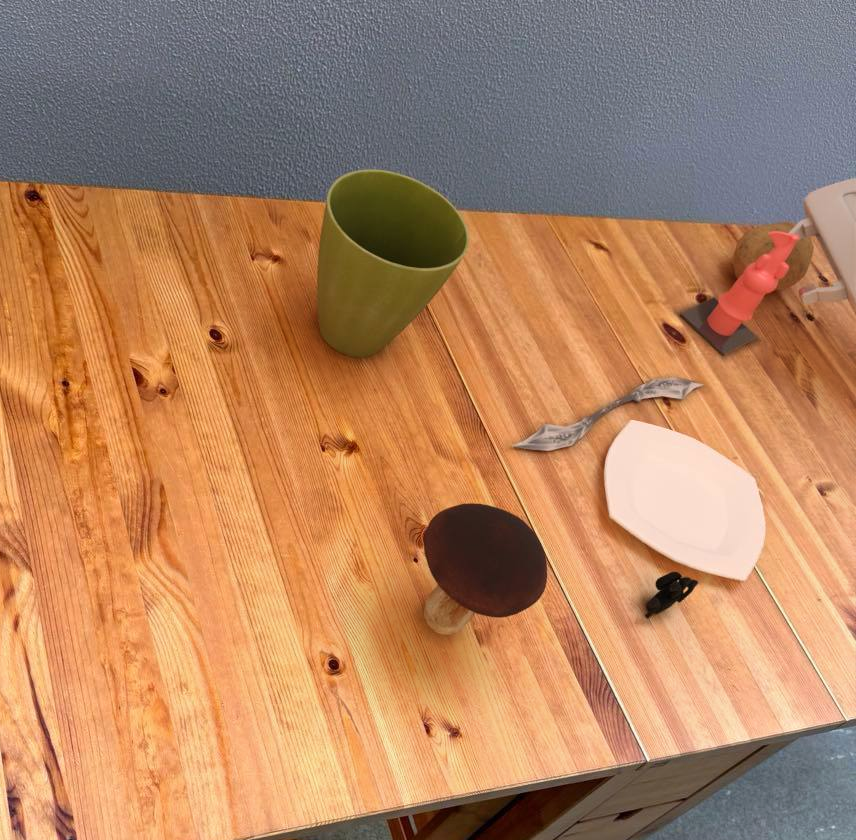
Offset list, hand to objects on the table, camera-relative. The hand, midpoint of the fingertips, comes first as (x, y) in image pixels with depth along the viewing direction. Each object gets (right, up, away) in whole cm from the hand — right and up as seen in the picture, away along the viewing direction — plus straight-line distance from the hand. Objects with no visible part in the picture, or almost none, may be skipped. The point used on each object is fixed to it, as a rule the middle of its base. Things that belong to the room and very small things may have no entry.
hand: (788, 272), depth 122 cm
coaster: (-6, -5, +7) cm, 11 cm away
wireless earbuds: (-25, -40, -24) cm, 53 cm away
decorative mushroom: (-48, -41, -32) cm, 71 cm away
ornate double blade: (-25, -19, -9) cm, 33 cm away
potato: (+2, +3, +16) cm, 16 cm away
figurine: (-6, -5, +7) cm, 10 cm away
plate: (-20, -30, -15) cm, 39 cm away
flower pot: (-55, -11, -13) cm, 58 cm away
